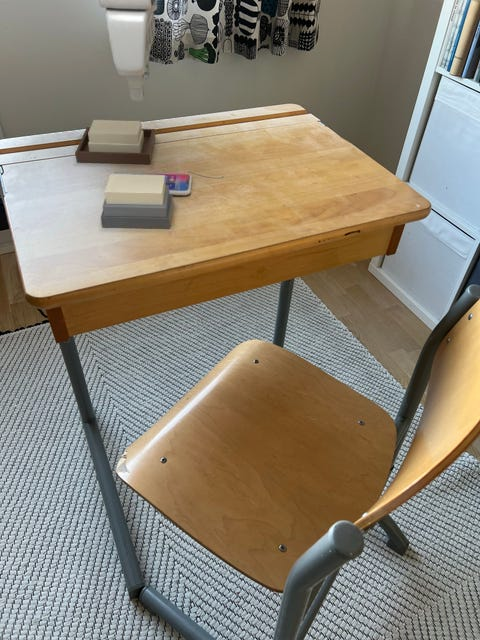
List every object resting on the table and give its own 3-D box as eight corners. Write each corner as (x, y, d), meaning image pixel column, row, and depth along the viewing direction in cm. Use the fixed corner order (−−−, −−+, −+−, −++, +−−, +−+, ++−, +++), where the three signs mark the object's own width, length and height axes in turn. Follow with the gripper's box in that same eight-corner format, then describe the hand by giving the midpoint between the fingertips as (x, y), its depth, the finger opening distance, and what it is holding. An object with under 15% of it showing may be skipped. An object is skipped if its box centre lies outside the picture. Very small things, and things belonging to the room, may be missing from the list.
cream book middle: (89, 142, 100) (87, 132, 99) (95, 129, 105) (93, 119, 104) (138, 144, 101) (137, 134, 99) (141, 130, 105) (141, 121, 104)
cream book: (106, 204, 82) (104, 191, 80) (111, 185, 86) (110, 173, 85) (163, 205, 82) (162, 192, 81) (165, 187, 87) (165, 174, 85)
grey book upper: (103, 216, 82) (102, 206, 81) (110, 193, 88) (109, 183, 87) (166, 217, 83) (165, 207, 82) (169, 194, 88) (169, 184, 87)
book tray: (76, 162, 100) (74, 152, 98) (88, 136, 109) (86, 126, 107) (150, 164, 101) (149, 154, 99) (155, 138, 110) (154, 128, 108)
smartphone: (111, 171, 96) (192, 173, 96) (112, 175, 96) (192, 178, 97) (105, 189, 90) (190, 192, 91) (105, 194, 91) (190, 197, 92)
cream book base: (89, 154, 101) (87, 143, 100) (95, 139, 107) (94, 128, 105) (140, 155, 102) (139, 144, 100) (144, 140, 107) (143, 130, 106)
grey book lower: (102, 227, 84) (100, 217, 82) (109, 202, 89) (108, 192, 88) (170, 229, 84) (169, 218, 83) (173, 204, 90) (172, 193, 89)
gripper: (117, -35, 75) (127, 65, 85) (95, -6, 60) (110, 112, 70) (160, -34, 76) (165, 66, 85) (149, -4, 61) (156, 114, 70)
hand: (140, 87), depth 77 cm, fingers open, 8 cm apart
